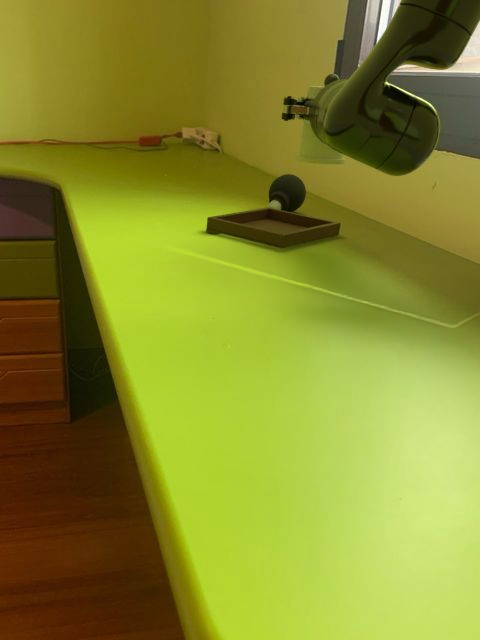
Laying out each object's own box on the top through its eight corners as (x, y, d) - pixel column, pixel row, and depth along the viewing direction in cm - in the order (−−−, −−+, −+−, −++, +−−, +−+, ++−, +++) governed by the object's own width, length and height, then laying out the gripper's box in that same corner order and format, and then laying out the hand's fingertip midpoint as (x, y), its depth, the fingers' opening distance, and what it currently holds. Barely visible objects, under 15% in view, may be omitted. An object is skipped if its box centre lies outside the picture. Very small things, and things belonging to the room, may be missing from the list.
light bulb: (255, 189, 115) (282, 162, 120) (249, 221, 120) (276, 194, 125) (289, 203, 113) (315, 175, 118) (282, 235, 118) (307, 207, 123)
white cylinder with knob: (311, 157, 100) (323, 73, 95) (352, 162, 96) (367, 75, 91) (286, 159, 95) (298, 71, 90) (329, 165, 91) (343, 74, 86)
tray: (266, 221, 114) (268, 207, 113) (338, 237, 106) (341, 222, 105) (205, 232, 103) (207, 217, 102) (280, 251, 96) (283, 235, 94)
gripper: (417, 84, 78) (382, 81, 93) (290, 75, 78) (275, 74, 93) (402, 154, 81) (371, 141, 96) (281, 146, 82) (268, 134, 97)
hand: (324, 108), depth 95 cm, fingers closed on white cylinder with knob, 6 cm apart
